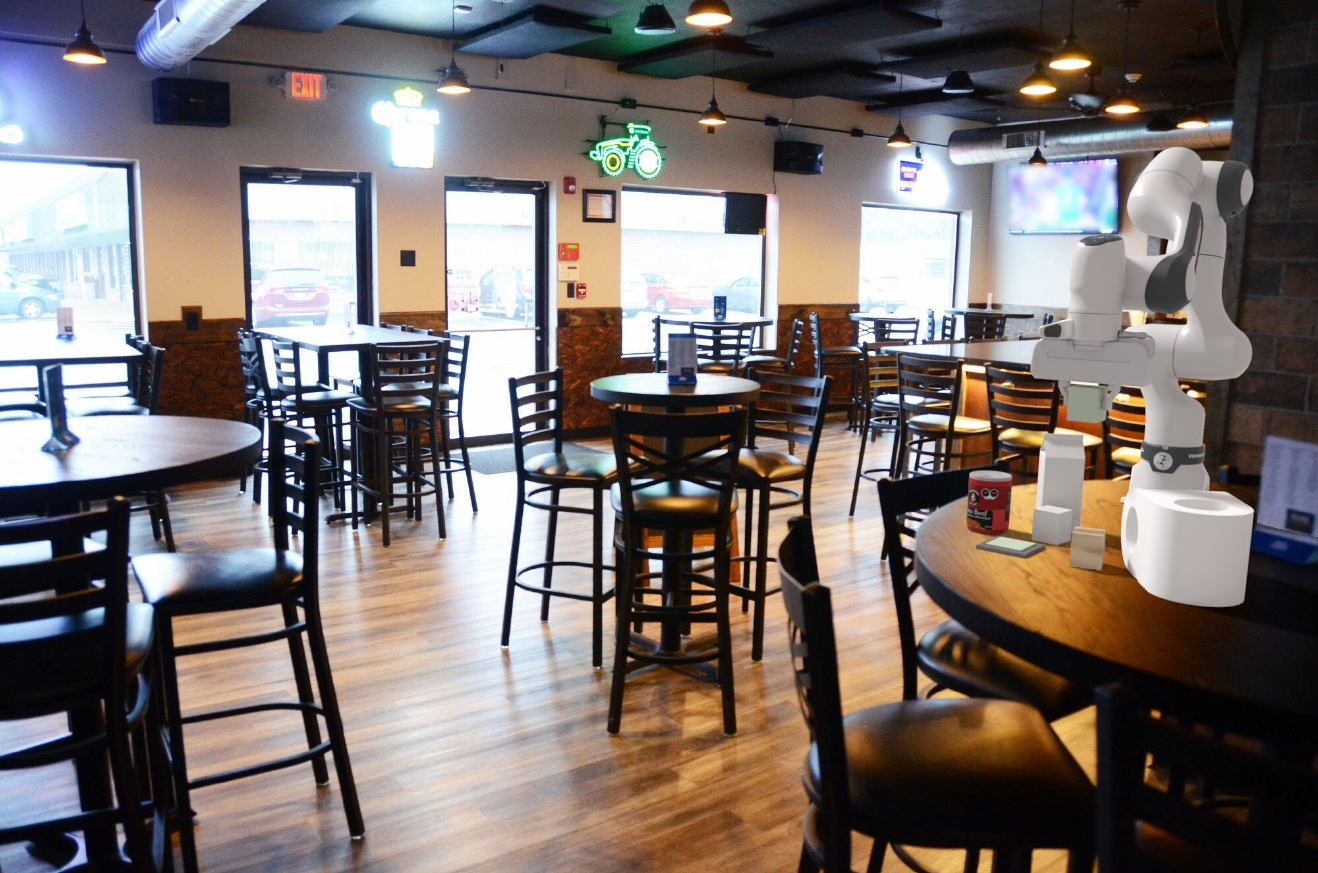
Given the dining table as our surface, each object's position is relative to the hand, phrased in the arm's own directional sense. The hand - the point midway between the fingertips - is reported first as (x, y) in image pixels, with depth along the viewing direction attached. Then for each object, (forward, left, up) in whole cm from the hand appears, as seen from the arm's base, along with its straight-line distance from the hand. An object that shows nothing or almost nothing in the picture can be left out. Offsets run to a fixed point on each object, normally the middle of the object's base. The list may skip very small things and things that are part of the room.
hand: (1087, 408), depth 185 cm
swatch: (+7, -9, -26) cm, 28 cm away
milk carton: (-12, -8, -26) cm, 30 cm away
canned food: (-3, -18, -26) cm, 32 cm away
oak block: (+8, +5, -26) cm, 28 cm away
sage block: (0, 0, -2) cm, 2 cm away
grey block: (-4, -6, -26) cm, 27 cm away
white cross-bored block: (+7, +20, -26) cm, 34 cm away
